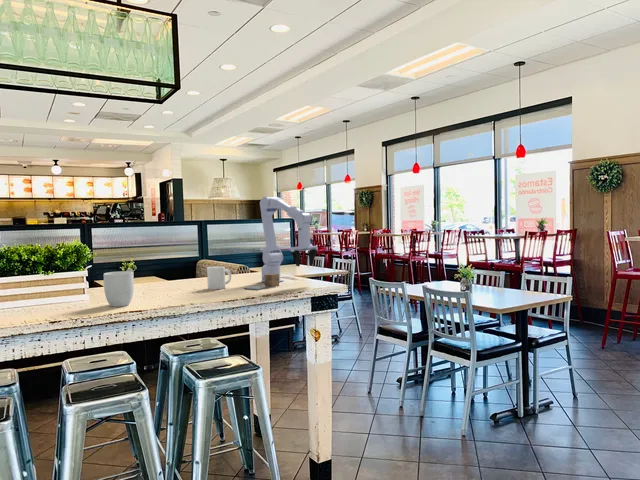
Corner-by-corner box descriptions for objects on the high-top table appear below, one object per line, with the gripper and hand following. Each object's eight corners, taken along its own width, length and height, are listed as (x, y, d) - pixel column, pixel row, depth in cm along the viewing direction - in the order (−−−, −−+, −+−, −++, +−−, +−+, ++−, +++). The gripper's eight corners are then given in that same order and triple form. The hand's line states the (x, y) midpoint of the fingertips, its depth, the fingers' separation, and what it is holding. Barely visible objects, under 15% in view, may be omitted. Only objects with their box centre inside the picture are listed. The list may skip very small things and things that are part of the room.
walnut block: (264, 286, 236) (264, 274, 235) (271, 285, 240) (271, 273, 240) (272, 287, 233) (272, 275, 233) (279, 286, 237) (278, 273, 237)
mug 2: (228, 285, 241) (227, 265, 240) (235, 287, 234) (234, 266, 234) (205, 288, 234) (204, 267, 234) (211, 290, 227) (211, 268, 227)
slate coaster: (244, 289, 229) (244, 287, 229) (255, 286, 236) (255, 285, 236) (256, 290, 225) (256, 289, 225) (268, 287, 231) (268, 286, 231)
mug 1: (113, 301, 202) (111, 270, 201) (140, 300, 203) (139, 269, 202) (100, 308, 187) (99, 274, 186) (130, 307, 188) (128, 274, 187)
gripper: (295, 238, 228) (296, 267, 229) (321, 237, 236) (321, 265, 237) (287, 238, 234) (288, 266, 235) (313, 236, 242) (313, 263, 243)
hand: (304, 265), depth 236 cm, fingers open, 7 cm apart
